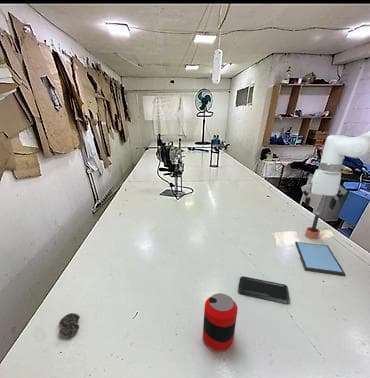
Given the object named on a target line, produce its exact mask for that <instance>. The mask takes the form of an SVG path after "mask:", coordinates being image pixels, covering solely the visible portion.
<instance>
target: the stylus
mask: <svg viewBox="0 0 370 378" xmlns="http://www.w3.org/2000/svg"><path fill="white" fill-rule="evenodd" d="M320 214H321V212H320V211H315V215H314V218H313V222H312V225H311V227H312V229H311V231H312V232H315V230H316V228H317V226H318V222H319V218H320Z"/></svg>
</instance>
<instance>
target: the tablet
mask: <svg viewBox="0 0 370 378" xmlns="http://www.w3.org/2000/svg"><path fill="white" fill-rule="evenodd" d="M294 244H295V247H296V249H297V252H298V255H299V260H300V262H301V265H302V267H303V270H304V271H305V272H311V273H319V274H326V275H333V276H341V277H345V275H346V272H345V271H344V269H343V268H342V265H341V264H340V263H339V261H338V260H337V258H336V256H335V255H334V253H333V251H332V250H331V248H330V246H329V245H325V244H318V243H317V244H316V243H309V242H300V241H295V242H294Z"/></svg>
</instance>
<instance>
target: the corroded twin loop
mask: <svg viewBox="0 0 370 378" xmlns="http://www.w3.org/2000/svg"><path fill="white" fill-rule="evenodd" d="M80 318H81V316H80V315H79V314H77V313H74V312H73V313H71V312H70V313H67V314H65V315H63V317H62V318H61V319H60V320H59V322H58V325H59V326H61V328H60V329H59V330H58V334H59V335H60V336H61V337H63V338H69V339H70V338H71V337H74V335H75V334H76V333H77V332H78V331H79V329H80V324H78V322H79V320H80Z"/></svg>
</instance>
